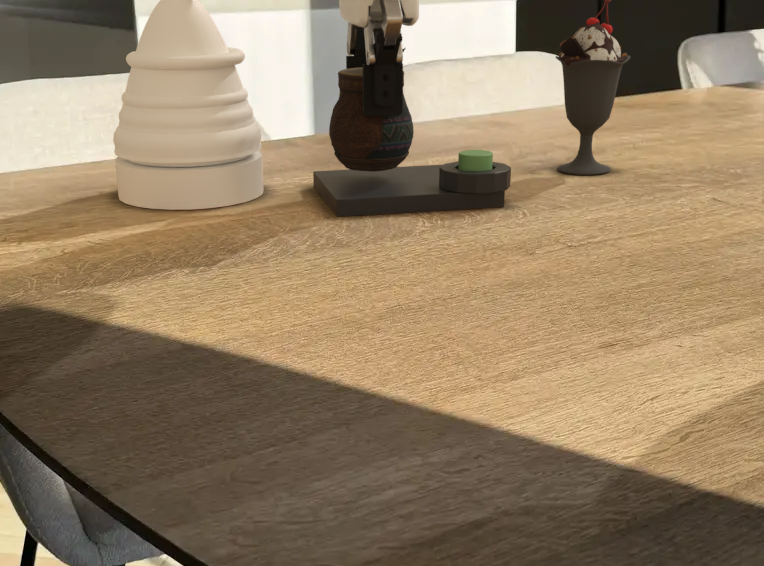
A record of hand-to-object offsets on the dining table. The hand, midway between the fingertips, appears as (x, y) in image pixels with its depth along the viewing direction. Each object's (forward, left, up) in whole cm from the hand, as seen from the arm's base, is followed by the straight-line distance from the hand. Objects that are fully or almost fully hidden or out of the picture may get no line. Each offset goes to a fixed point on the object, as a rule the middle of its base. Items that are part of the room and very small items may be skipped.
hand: (373, 107), depth 94 cm
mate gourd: (0, 0, -5) cm, 5 cm away
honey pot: (+16, -5, -8) cm, 18 cm away
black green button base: (-2, +1, -7) cm, 8 cm away
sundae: (-21, -6, -8) cm, 23 cm away
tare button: (-7, +5, -5) cm, 10 cm away
